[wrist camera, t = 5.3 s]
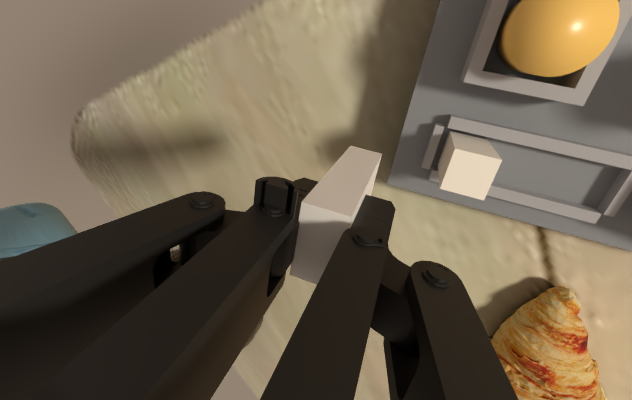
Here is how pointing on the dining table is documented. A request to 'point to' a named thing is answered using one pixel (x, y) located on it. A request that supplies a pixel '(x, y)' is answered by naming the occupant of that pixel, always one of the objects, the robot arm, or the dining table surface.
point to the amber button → (555, 35)
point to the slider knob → (467, 165)
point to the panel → (525, 126)
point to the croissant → (548, 350)
